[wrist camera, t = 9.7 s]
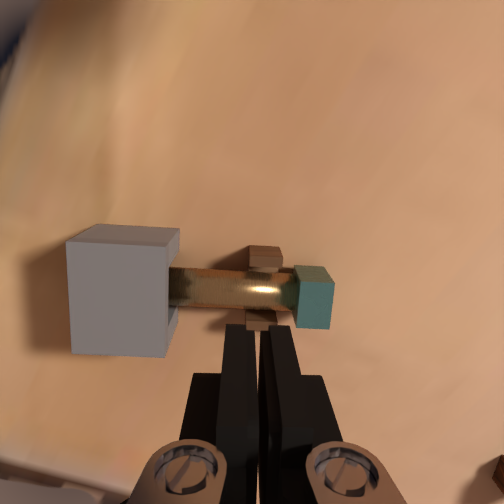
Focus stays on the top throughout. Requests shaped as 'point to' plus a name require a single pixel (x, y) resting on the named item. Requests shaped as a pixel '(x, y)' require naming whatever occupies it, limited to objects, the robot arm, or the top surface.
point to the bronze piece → (257, 291)
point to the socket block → (121, 290)
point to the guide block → (262, 262)
